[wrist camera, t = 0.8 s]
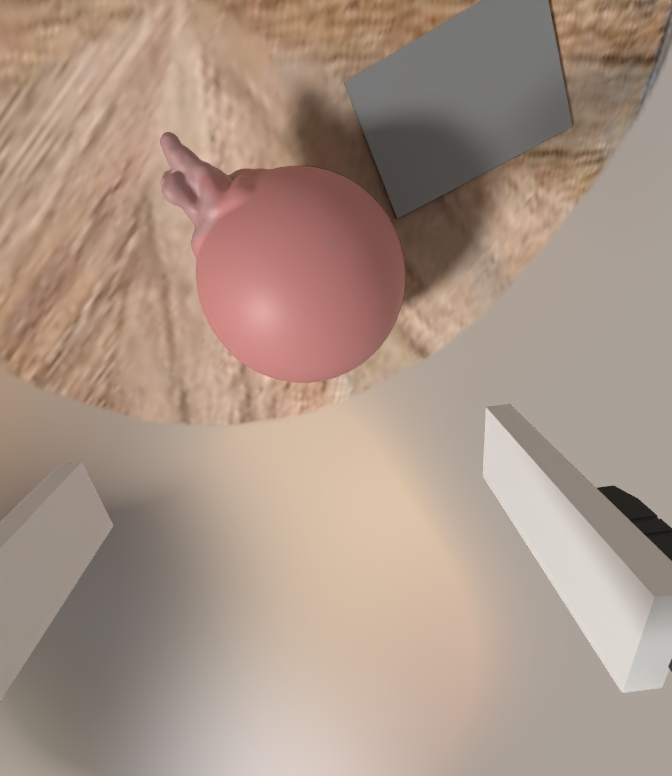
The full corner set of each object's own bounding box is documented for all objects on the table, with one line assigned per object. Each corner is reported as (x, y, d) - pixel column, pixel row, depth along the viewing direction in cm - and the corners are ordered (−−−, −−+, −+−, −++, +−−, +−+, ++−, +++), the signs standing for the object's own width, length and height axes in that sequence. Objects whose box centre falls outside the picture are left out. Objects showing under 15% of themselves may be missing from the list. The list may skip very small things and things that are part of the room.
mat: (344, 84, 30) (344, 82, 30) (538, -33, 28) (541, -36, 28) (396, 218, 35) (397, 218, 34) (569, 127, 32) (572, 126, 32)
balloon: (277, 81, 30) (242, -39, 16) (417, 281, 37) (479, 319, 23) (149, 215, 34) (27, 213, 20) (298, 375, 40) (288, 458, 26)
